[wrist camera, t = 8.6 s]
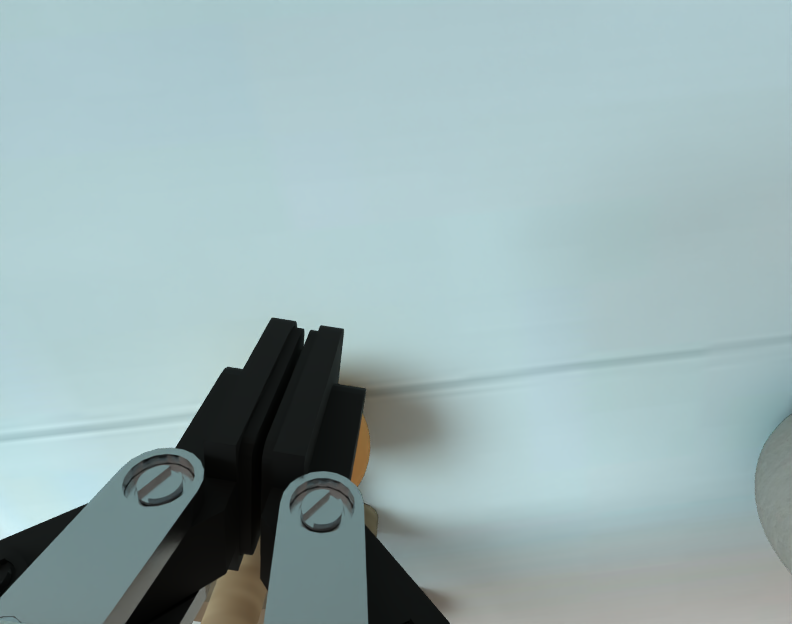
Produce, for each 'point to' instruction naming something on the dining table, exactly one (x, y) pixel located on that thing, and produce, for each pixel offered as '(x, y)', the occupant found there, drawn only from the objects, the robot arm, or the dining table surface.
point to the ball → (776, 491)
